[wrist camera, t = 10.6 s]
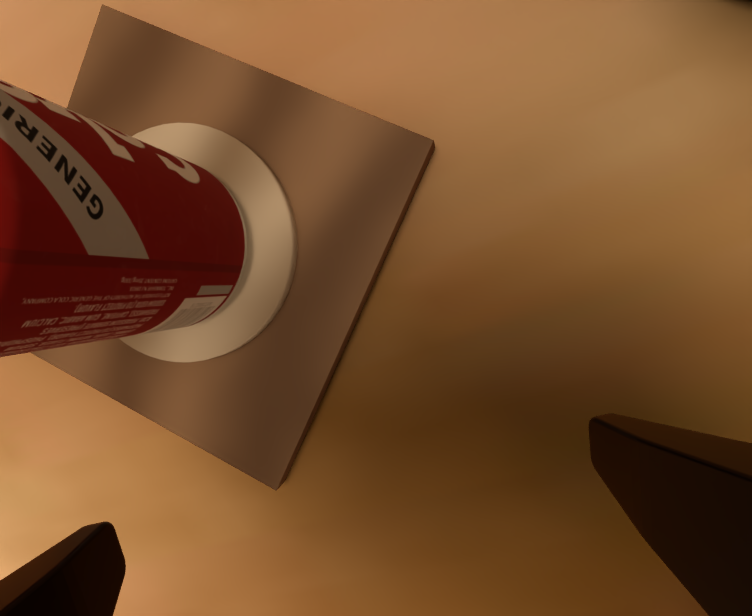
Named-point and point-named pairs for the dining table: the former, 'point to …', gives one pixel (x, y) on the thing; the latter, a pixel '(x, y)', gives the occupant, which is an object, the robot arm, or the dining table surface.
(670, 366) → the dining table surface
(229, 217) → the soda can
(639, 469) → the robot arm
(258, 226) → the walnut serving board
